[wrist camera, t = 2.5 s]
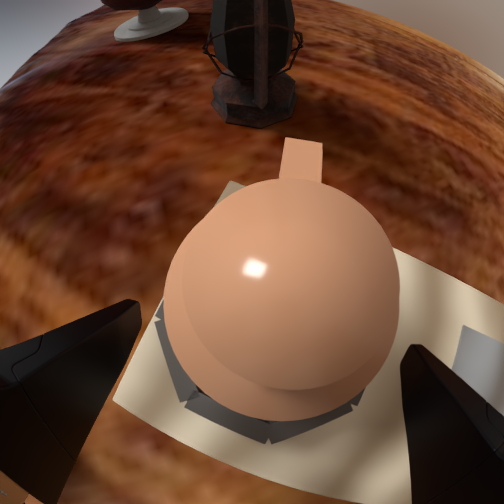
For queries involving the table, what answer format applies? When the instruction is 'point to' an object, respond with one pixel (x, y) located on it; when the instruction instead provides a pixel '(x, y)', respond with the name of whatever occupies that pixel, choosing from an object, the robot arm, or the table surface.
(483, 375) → the board
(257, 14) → the lantern
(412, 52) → the table surface
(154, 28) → the mate gourd
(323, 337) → the peach jug
